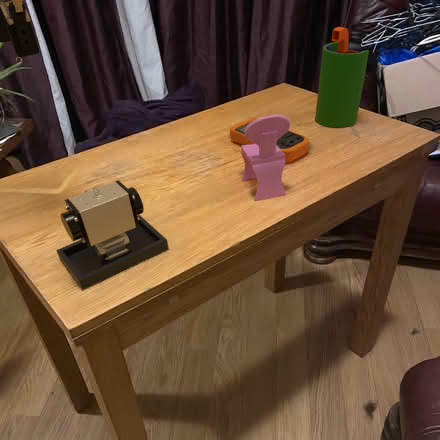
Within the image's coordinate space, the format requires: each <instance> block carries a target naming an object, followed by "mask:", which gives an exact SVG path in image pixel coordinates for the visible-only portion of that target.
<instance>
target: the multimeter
mask: <svg viewBox="0 0 440 440" xmlns="http://www.w3.org/2000/svg"><path fill="white" fill-rule="evenodd" d="M256 119H258V118H257V117H251V118H249V119H247V120H244V121H242V122H240V123H237V124H235V125H233V126H230V128H229V137H230V139H231V141H232V142H234V143H236V144H240V145H241V146H243V145H250V144H254V143H252V142H251V141H250V140H248V139H247V137H246V135H245V128H246V126H247V125H248V124H249V123H251V122H252V121H254V120H256ZM276 145H277V146H278V147H279V149H280V150H281V151H282V152H283V153H284V154H285V163H291V162H293V161H296V160H297V159H299V158H301V157H303V156H304V155H305V154H307V153H308V151H309V147H310V139H309V138H308V137H307V136H305V135H304V134H300V133H297V132H294V131H291V130H290V129H289V130H288V131H287V132H286V133H285V134H284V135H282V136H281V137H280V138H279V139H278V140H277V143H276Z"/></svg>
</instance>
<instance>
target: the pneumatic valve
mask: <svg viewBox="0 0 440 440" xmlns="http://www.w3.org/2000/svg"><path fill="white" fill-rule="evenodd" d="M64 204H65V205H66V206H64V210H65V212H61V213H60V220H61V222H62V225H63V228H64V229H65V231H66V234H67V235H68V237H69V238H70V240H71V241H72V242H77V241H79V240H82V242H83V243H84V244H85V245H86V246H87V248H88V247H91V246H93V245H94V246H95V249H96V252H97V254H98V255H99V257H101V258H102V257H104V256H106V258H105V260H107V261H108V260H109V261H111V260H113V259H115V258H118V257H120V256H122V255H124V254H127V252H128V249H127V248H126V247H127V246H129V245H130V241H129V238H128V236H127V235H126V233H124V232H126V231H129V230H131V229H133V228H136V227H138V226H139V222H138V220H140V219H139V217H137V216H138V215H141V214H143V213H144V211H145V209H144V203H143V201H142V198H141V196H140V194H139V192H138V191H137V189H136V188H135V187H133V186H131V187H127V186H125V185H124V184H123V183H122V181H120V180H119V179H118V180H115V181H113V182H109V183H107V184H104V185H101V186H99V187H97V186H93V187H92V189H90V190H88V189H85V190H84V192H82V193H79V194H76V195H74V196H72V197H68V198H66V199H64Z"/></svg>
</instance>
